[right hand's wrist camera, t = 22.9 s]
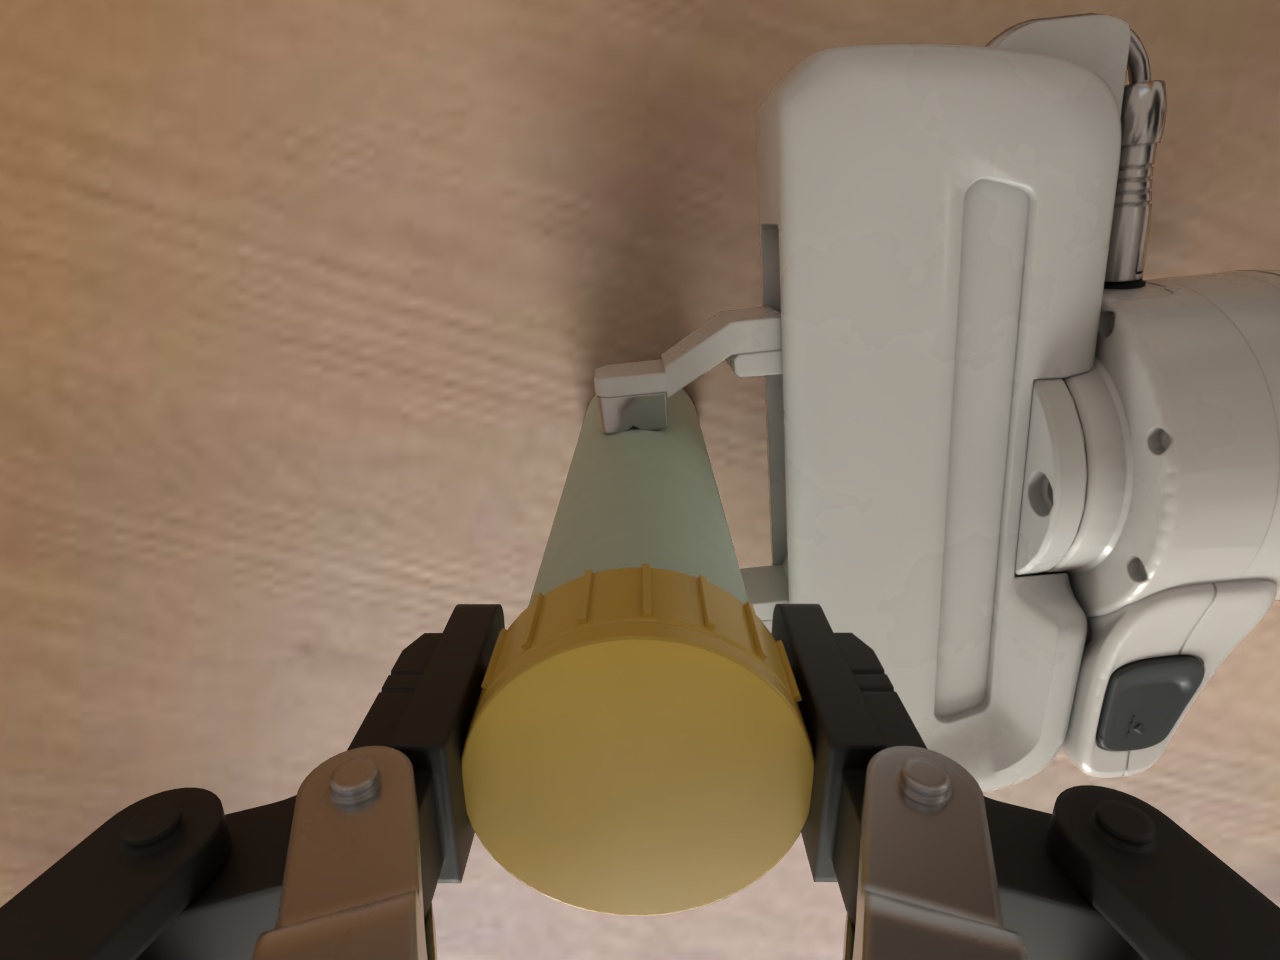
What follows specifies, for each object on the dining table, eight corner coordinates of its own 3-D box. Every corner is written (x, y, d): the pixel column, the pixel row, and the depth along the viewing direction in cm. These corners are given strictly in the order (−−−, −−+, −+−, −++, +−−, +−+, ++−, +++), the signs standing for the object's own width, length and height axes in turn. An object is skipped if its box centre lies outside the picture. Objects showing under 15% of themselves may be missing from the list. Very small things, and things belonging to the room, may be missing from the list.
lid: (748, 521, 10) (773, 586, 8) (820, 779, 12) (852, 880, 10) (436, 608, 10) (394, 687, 9) (546, 844, 12) (530, 950, 10)
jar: (563, 405, 25) (435, 701, 10) (664, 350, 24) (701, 573, 9) (619, 499, 26) (586, 893, 11) (717, 449, 26) (830, 794, 10)
